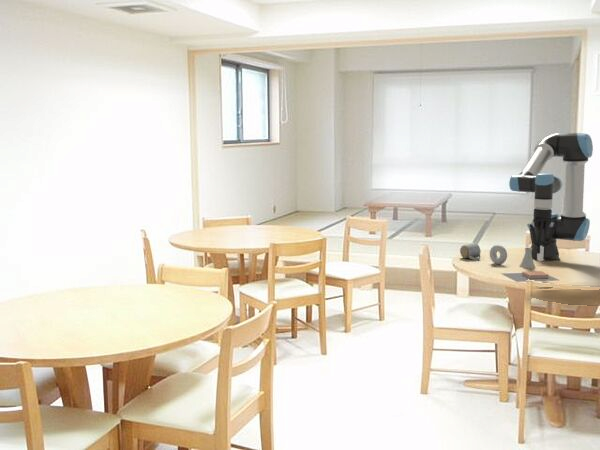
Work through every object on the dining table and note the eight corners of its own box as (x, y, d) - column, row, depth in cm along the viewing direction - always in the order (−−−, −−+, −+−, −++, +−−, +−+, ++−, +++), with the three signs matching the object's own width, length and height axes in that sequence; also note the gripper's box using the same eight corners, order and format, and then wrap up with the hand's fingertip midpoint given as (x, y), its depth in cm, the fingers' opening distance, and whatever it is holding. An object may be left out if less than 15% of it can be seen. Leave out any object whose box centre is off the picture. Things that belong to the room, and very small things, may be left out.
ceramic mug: (458, 257, 338) (459, 243, 336) (471, 256, 341) (471, 241, 340) (471, 261, 328) (472, 246, 327) (484, 260, 331) (485, 245, 330)
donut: (508, 265, 316) (509, 245, 315) (503, 266, 315) (504, 246, 313) (492, 262, 325) (493, 242, 323) (487, 263, 323) (488, 243, 322)
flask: (527, 270, 306) (528, 250, 304) (516, 267, 312) (517, 247, 311) (538, 269, 308) (539, 248, 307) (527, 266, 315) (528, 246, 314)
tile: (540, 271, 294) (522, 271, 292) (548, 274, 287) (529, 275, 285) (540, 274, 294) (522, 275, 293) (548, 278, 287) (529, 278, 286)
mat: (541, 273, 299) (541, 272, 299) (559, 281, 283) (559, 280, 283) (500, 275, 296) (500, 273, 296) (516, 283, 280) (516, 281, 280)
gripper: (552, 207, 290) (549, 258, 293) (524, 207, 288) (522, 259, 292) (561, 209, 283) (558, 261, 286) (533, 209, 281) (530, 262, 284)
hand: (540, 260), depth 289 cm, fingers closed
